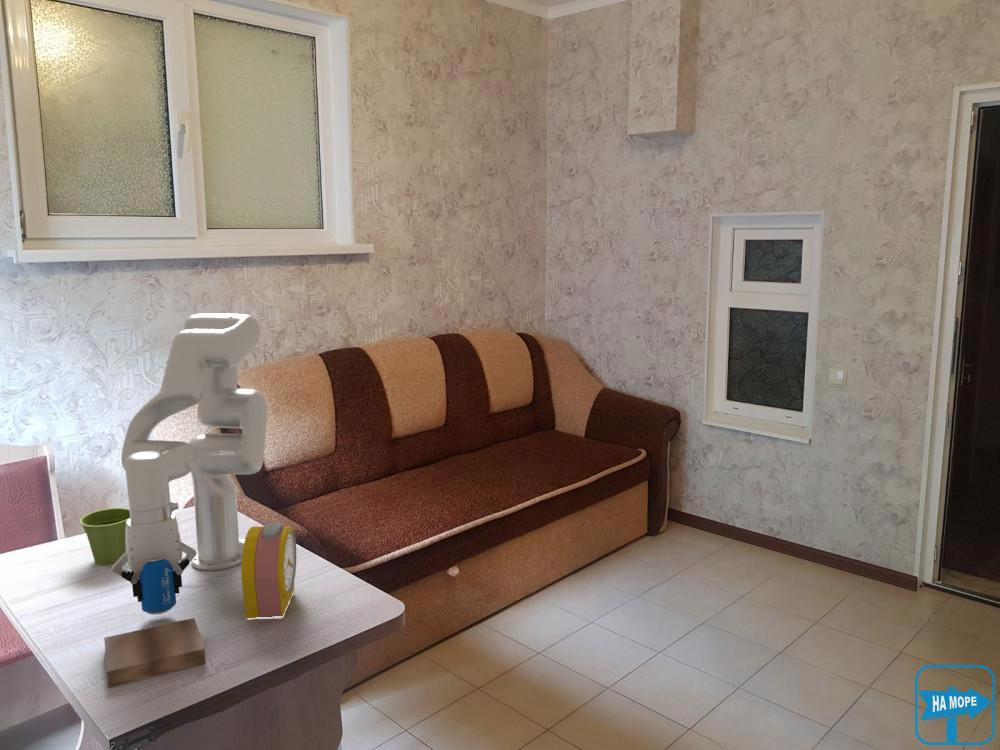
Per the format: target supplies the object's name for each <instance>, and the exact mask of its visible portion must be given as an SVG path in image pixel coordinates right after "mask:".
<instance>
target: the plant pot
mask: <svg viewBox="0 0 1000 750" xmlns="http://www.w3.org/2000/svg"><path fill="white" fill-rule="evenodd" d="M129 519H130V511H129V508H125V507H112V508H104V509H100V510H99V509H98V510H95V511H92V512H89V513H87V514H85V515H83V516H82V517H81V518H80V520H79V523H80V525H81V526H82V527H83V530H84V533H85V534H86V537H87V540H88V543H89V546H90V550H91V553H92V556H93V560H94V563H95V564H96V565H100V566H103V567H107V566H113V565H114V564H115V563H116V562H117V560H118V559H119V558H120V557H121V556H122V555H123V554H124V553H125V552H126V544H125V530H126V522H127V520H129Z"/></svg>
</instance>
